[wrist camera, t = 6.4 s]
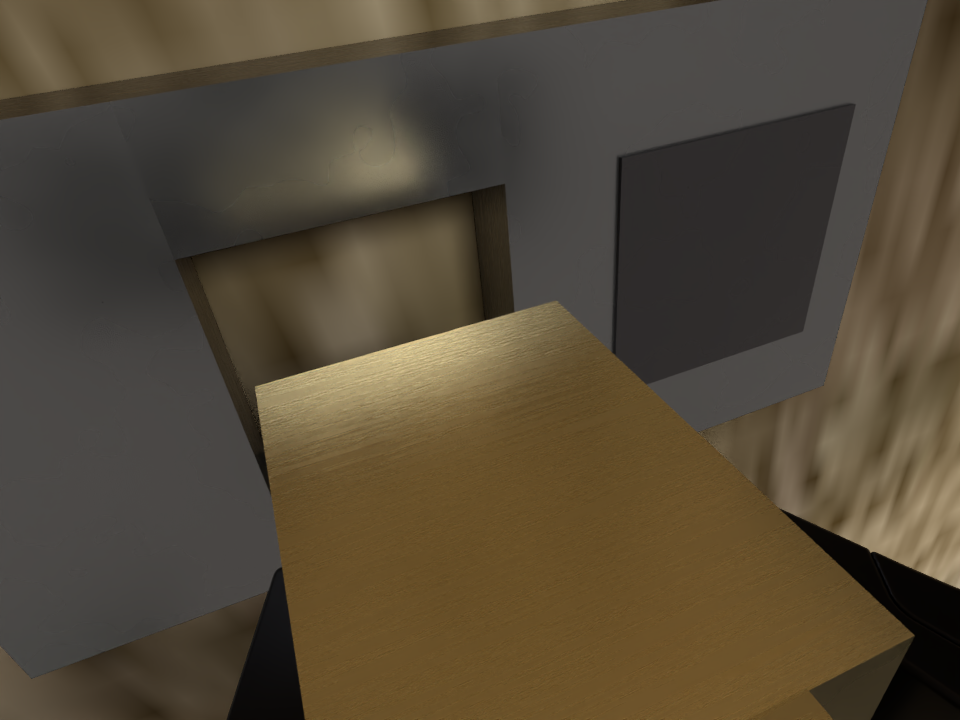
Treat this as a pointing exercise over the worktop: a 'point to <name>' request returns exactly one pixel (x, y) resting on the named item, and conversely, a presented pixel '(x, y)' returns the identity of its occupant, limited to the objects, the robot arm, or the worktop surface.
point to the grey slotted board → (390, 185)
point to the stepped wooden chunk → (545, 546)
